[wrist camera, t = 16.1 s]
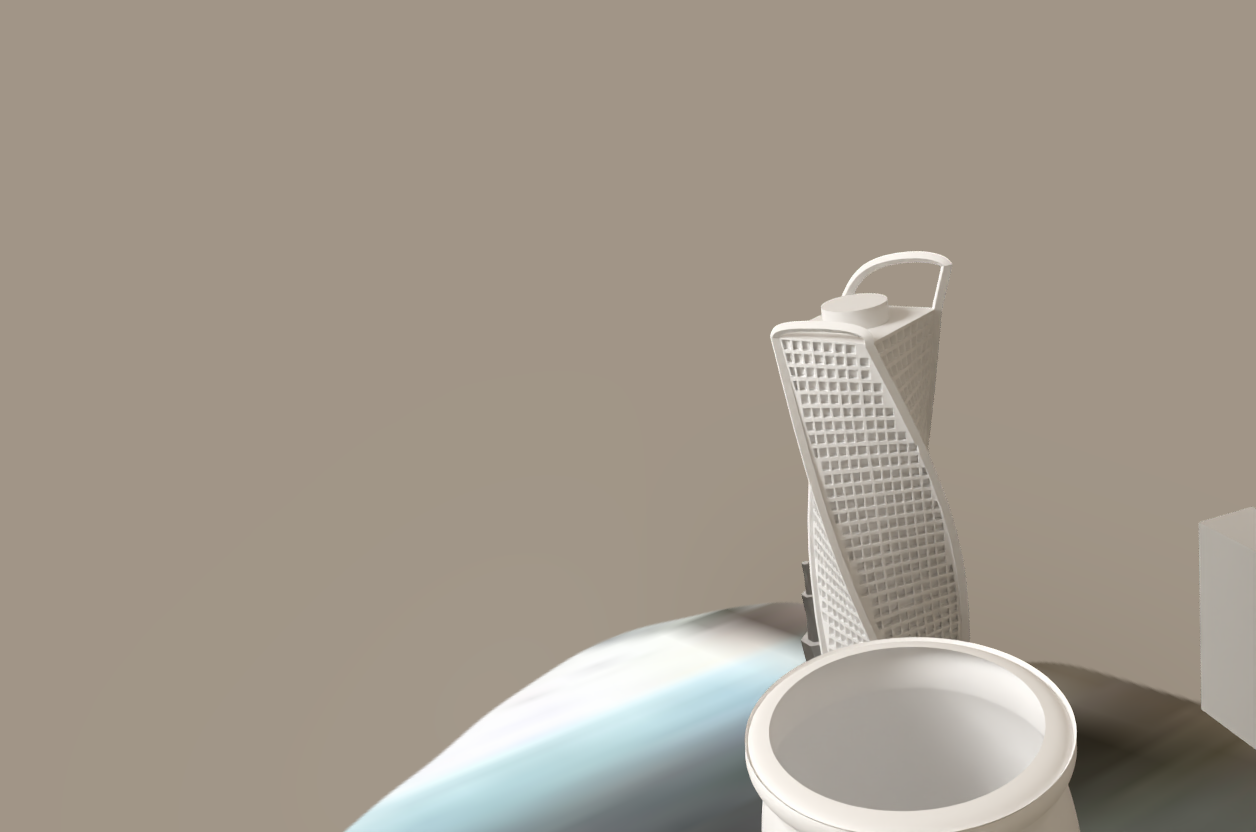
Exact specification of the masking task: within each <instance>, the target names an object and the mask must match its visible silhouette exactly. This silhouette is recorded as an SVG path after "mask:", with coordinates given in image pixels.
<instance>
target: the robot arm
mask: <svg viewBox="0 0 1256 832" xmlns="http://www.w3.org/2000/svg"><path fill="white" fill-rule="evenodd" d="M1199 575H1200V644H1201V646H1200V649H1201V709H1202V710H1203V711H1204V712H1206V713H1207V714H1208V715H1210V716H1211V717H1212V718H1214V719H1215V720H1216V721H1218V722H1219V723H1220V724H1222V725H1223V726H1225V727H1226V728H1227V729H1229V730H1230V731H1231V732H1233V733H1234V734H1235V735H1237V736H1238V737H1239V738H1241V739H1242V740H1243V741H1245V742H1246V743H1248V744H1249V745H1250V746H1252V747H1253V748H1254V749H1256V508H1254V507H1249V508H1246V509H1242V510H1239V511H1235V512H1232V513H1228V514H1225V515H1221V516H1218V517H1215V518H1211V519H1208V520H1205V521H1201V522H1199Z"/></svg>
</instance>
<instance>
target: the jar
mask: <svg viewBox="0 0 1256 832" xmlns="http://www.w3.org/2000/svg"><path fill="white" fill-rule="evenodd" d="M1076 737H1077V729H1076V722H1075V717H1074V714H1073V711H1072V709H1071V707H1070V704H1069V703H1068V701H1067V699H1066V698H1065V696H1064V695H1063V693H1062V692H1061V691H1060V690H1059V688H1058V687H1057V686H1056V685H1055V684H1054V683H1053V682H1052V681H1051V680H1050V679H1049V678H1047V677H1046V676H1045V675H1044V674H1043V673H1041V672H1040V671H1038V670H1037V669H1035V668H1034V667H1032V666H1031V665H1029V664H1027V663H1026V662H1024V661H1022V660H1020V659H1018V658H1016V657H1013V656H1011V655H1009V654H1006V653H1004V652H1001V651H999V650H996V649H993V648H989V647H986V646H982V645H978V644H974V643H970V642H964V641H959V640H952V639H943V638H929V637H905V638H890V639H881V640H874V641H868V642H863V643H858V644H854V645H850V646H846V647H843V648H839V649H836V650H833V651H830V652H828V653H825V654H822V655H820V656H817V657H815V658H813V659H811V660H809V661H807V662H805V663H803V664H801V665H799V666H797V667H796V668H794V669H793V670H791V671H789V672H788V673H787V674H785V675H784V676H782V677H781V678H780V679H779V680H777V681H776V682H775V683H774V684H773V685H772V686H771V687H770V688H769V689H768V690H767V691H766V692H765V693H764V694H763V695H762V697H761V698H760V699H759V701H758V702H757V703H756V705H755V707H754V708H753V710H752V712H751V714H750V717H749V720H748V723H747V726H746V732H745V757H746V764H747V769H748V772H749V775H750V778H751V781H752V783H753V785H754V787H755V789H756V791H757V793H758V794H759V796H760V797H761V799H762V800H763V806H762V832H1080V829H1079V824H1078V819H1077V815H1076V811H1075V807H1074V803H1073V799H1072V796H1071V792H1070V789H1069V786H1068V783H1069V781H1070V779H1071V777H1072V774H1073V771H1074V767H1075V763H1076V756H1077V741H1076Z"/></svg>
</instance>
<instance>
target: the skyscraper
mask: <svg viewBox="0 0 1256 832" xmlns="http://www.w3.org/2000/svg"><path fill="white" fill-rule="evenodd" d="M911 262H923V263H932V264H936V265H939V266H941V270H940V275H939V279H938V283H937V288H936V293H935V297H934V301H933V306H932V308H927V307H906V306H888V301H887V297H886V296H885V295H882V294H874V293H863V294H854V292H855V291H856V289H857V287H858V286H859V284H860V283H861V282H862V280H863V279H864V278H865V277H866V276H868V275H869V274H870V273H872V272H874V271H875V270H878V269H880V268H883V267H886V266H890V265H895V264H901V263H911ZM951 268H952V263H951V261H950V260H949V259H947V258H946V257H944V256H942V255H940V254H936V253H932V252H923V251H920V252H919V251H909V252H900V253H894V254H889V255H884V256H881V257H878V258H875V259H874V260H871V261H869V262H867V263H866V264H864V265H863V266H862V267H861V268H859V269H858V270H857V271H856V272H855V274H854V275H853V276H852V277H851V279H850V281H849V282H848V284H847V286H846V288H845V290H844V292H843V294H842V297H838V298H834V299H831V300H829V301H827V302H825V303H823V304H822V305H821V311H822V315H819V316H817V317H815V318H813V319H811V320H809V321H795V322H787V323H782V324H779V325H777V326H775V327H774V328H773V330H772V332H771V336H770V338H771V342H772V346H773V350H774V353H775V358H776V361H777V366H778V370H779V374H780V377H781V381H782V385H783V389H784V393H785V397H786V401H787V404H788V408H789V412H790V416H791V420H792V424H793V428H794V431H795V435H796V438H797V442H798V446H799V449H800V453H801V457H802V460H803V463H804V467H805V471H806V474H807V477H808V481H809V491H808V549H809V562H808V561H804V562H802V567H803V572H804V577H805V587H806V590H805V591H804V592H803V593H802V599H803V603H804V607H805V611H806V617H807V631H808V632H807V633H806V634H805V635H804V637H803V638H802V640H801V642H802V646H803V650H804V654H805V658H806V662H807V661H809V660H811V659H813V658H815V657H817V656H820V655H822V654H825V653H828V652H830V651H833V650H836V649H839V648H843V647H846V646H850V645H854V644H858V643H863V642H868V641H874V640H881V639H890V638H905V637H929V638H943V639H952V640H959V641H964V642H970V641H969V640H970V629H969V604H968V592H967V582H966V575H965V569H964V563H963V557H962V552H961V548H960V543H959V539H958V534H957V530H956V527H955V524H954V520H953V517H952V514H951V510H950V507H949V504H948V501H947V498H946V496H945V493H944V490H943V488H942V485H941V482H940V480H939V477H938V474H937V472H936V470H935V467H934V465H933V462H932V460H931V458H930V456H929V449H928V445H929V436H930V428H931V419H932V409H933V402H934V401H933V400H934V392H935V381H936V371H937V360H938V349H939V338H940V326H941V315H942V308H943V303H944V298H945V295H946V290H947V286H948V282H949V277H950V273H951ZM809 563H810V569H809ZM810 576H811V578H810Z"/></svg>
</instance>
